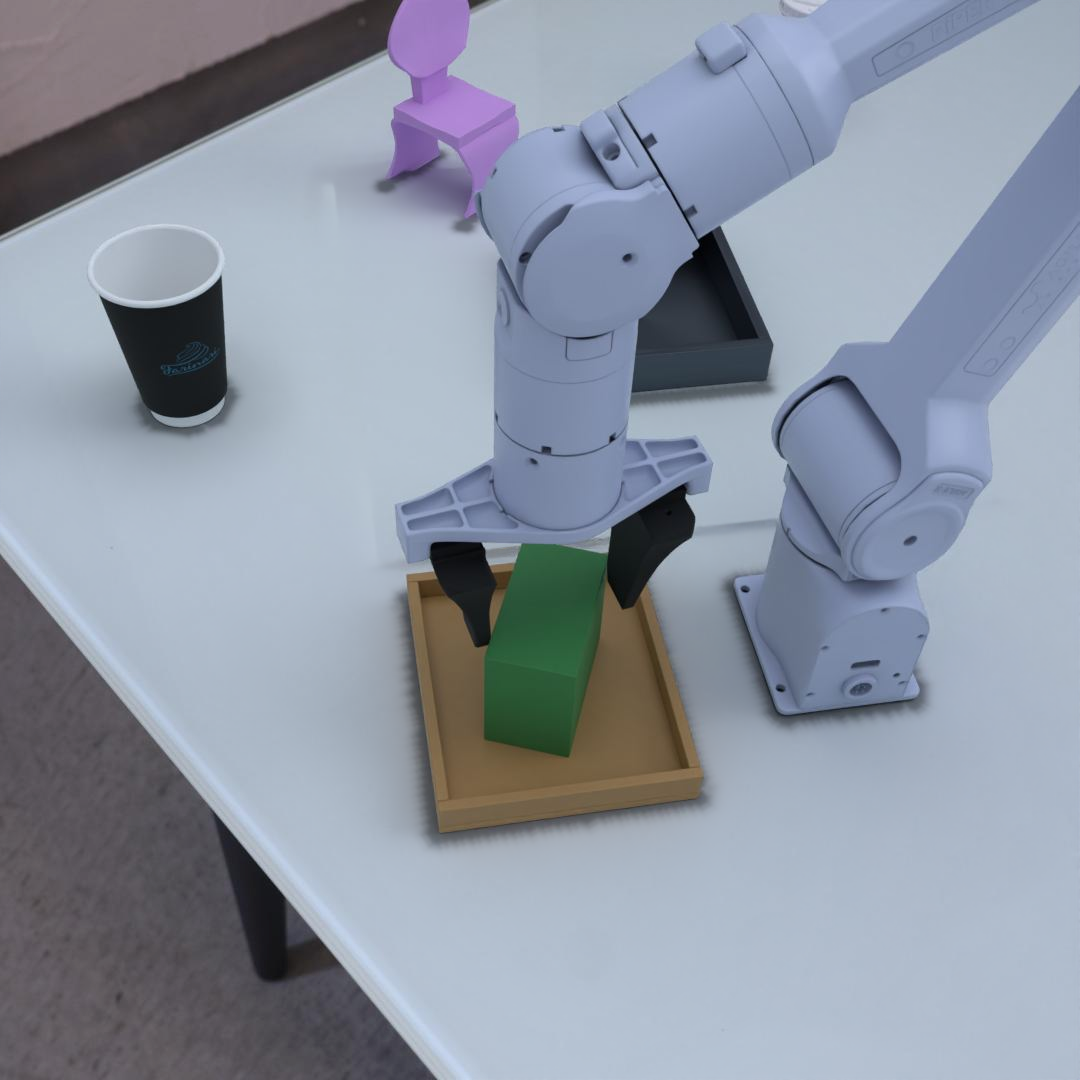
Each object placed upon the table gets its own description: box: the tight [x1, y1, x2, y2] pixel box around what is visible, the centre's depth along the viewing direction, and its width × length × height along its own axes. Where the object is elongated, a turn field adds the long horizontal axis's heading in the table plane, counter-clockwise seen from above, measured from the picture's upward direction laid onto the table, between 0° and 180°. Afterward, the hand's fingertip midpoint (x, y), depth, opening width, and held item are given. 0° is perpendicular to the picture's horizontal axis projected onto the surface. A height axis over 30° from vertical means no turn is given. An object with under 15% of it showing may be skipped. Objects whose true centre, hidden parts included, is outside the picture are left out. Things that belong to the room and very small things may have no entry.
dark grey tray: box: [631, 225, 775, 394], centre depth 90 cm, size 16×14×4 cm
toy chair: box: [386, 0, 520, 219], centre depth 96 cm, size 8×9×15 cm
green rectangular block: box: [484, 543, 608, 757], centre depth 67 cm, size 4×8×7 cm, turn 167°
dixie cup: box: [86, 223, 228, 428], centre depth 81 cm, size 8×8×11 cm
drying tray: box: [405, 552, 704, 834], centre depth 70 cm, size 15×13×2 cm
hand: (549, 612), depth 65 cm, fingers open, 7 cm apart
